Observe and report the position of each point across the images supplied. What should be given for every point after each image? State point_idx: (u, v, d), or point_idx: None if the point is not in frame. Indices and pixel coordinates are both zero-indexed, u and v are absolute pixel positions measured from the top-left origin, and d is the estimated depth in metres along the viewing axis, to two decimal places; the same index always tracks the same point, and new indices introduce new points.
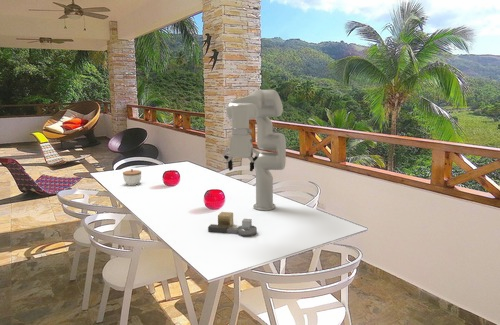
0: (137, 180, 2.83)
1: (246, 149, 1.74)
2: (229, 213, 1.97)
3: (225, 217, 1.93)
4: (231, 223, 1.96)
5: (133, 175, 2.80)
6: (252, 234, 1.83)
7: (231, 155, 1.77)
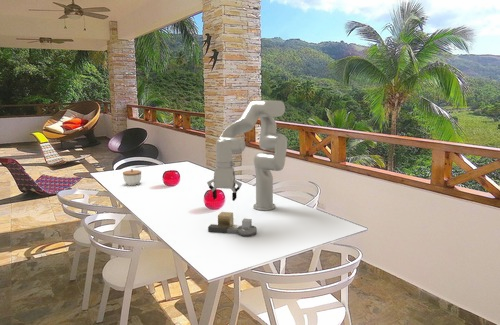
0: (137, 180, 2.83)
1: (229, 181, 1.90)
2: (229, 213, 1.97)
3: (225, 217, 1.93)
4: (231, 223, 1.96)
5: (133, 175, 2.80)
6: (252, 234, 1.83)
7: (215, 186, 1.92)
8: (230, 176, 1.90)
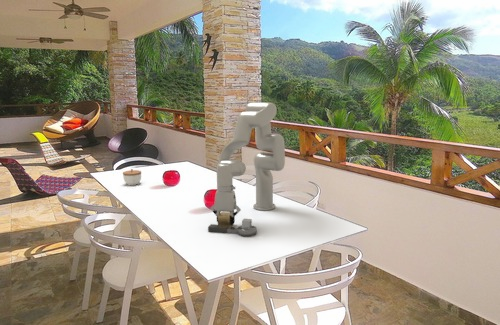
0: (137, 180, 2.83)
1: (230, 204, 1.92)
2: (229, 213, 1.97)
3: (225, 217, 1.93)
4: None
5: (133, 175, 2.80)
6: (252, 234, 1.83)
7: (216, 209, 1.95)
8: (231, 200, 1.92)
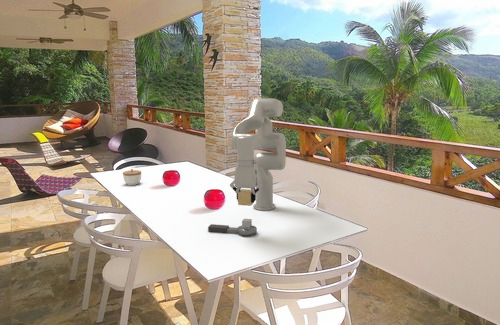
0: (137, 180, 2.83)
1: (251, 180, 1.79)
2: (250, 190, 1.84)
3: (246, 194, 1.80)
4: None
5: (133, 175, 2.80)
6: (252, 234, 1.83)
7: (236, 185, 1.81)
8: (252, 175, 1.78)
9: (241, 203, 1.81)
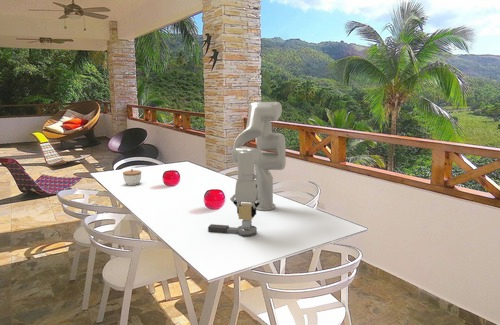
0: (137, 180, 2.83)
1: (251, 194, 1.80)
2: (250, 204, 1.85)
3: (246, 208, 1.81)
4: None
5: (133, 175, 2.80)
6: (252, 234, 1.83)
7: (237, 199, 1.82)
8: (253, 189, 1.80)
9: (242, 217, 1.82)
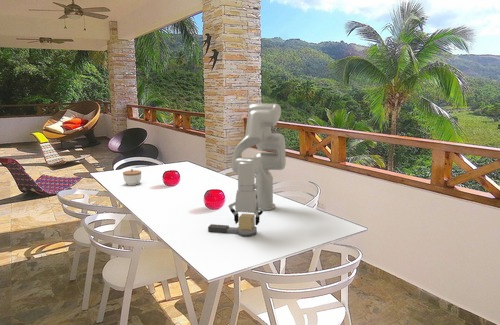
0: (137, 180, 2.83)
1: (252, 204, 1.81)
2: (250, 215, 1.86)
3: (247, 219, 1.82)
4: (253, 225, 1.85)
5: (133, 175, 2.80)
6: (252, 234, 1.83)
7: (237, 209, 1.83)
8: (253, 200, 1.80)
9: (242, 228, 1.83)
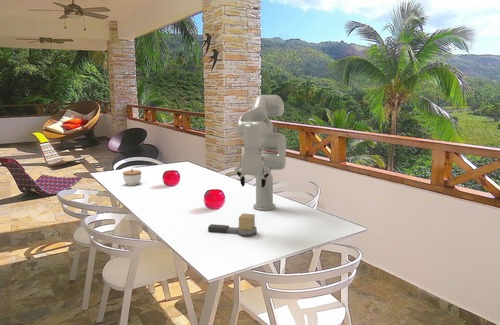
0: (137, 180, 2.83)
1: (258, 167, 1.82)
2: (250, 215, 1.86)
3: (247, 219, 1.82)
4: (253, 225, 1.85)
5: (133, 175, 2.80)
6: (252, 234, 1.83)
7: (243, 172, 1.85)
8: (259, 162, 1.82)
9: (242, 228, 1.83)
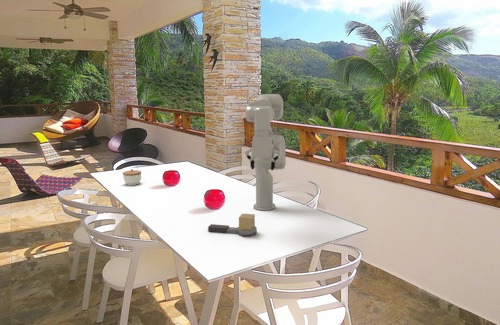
0: (137, 180, 2.83)
1: (268, 149, 1.87)
2: (250, 215, 1.86)
3: (247, 219, 1.82)
4: (253, 225, 1.85)
5: (133, 175, 2.80)
6: (252, 234, 1.83)
7: (253, 155, 1.89)
8: (269, 145, 1.86)
9: (242, 228, 1.83)
